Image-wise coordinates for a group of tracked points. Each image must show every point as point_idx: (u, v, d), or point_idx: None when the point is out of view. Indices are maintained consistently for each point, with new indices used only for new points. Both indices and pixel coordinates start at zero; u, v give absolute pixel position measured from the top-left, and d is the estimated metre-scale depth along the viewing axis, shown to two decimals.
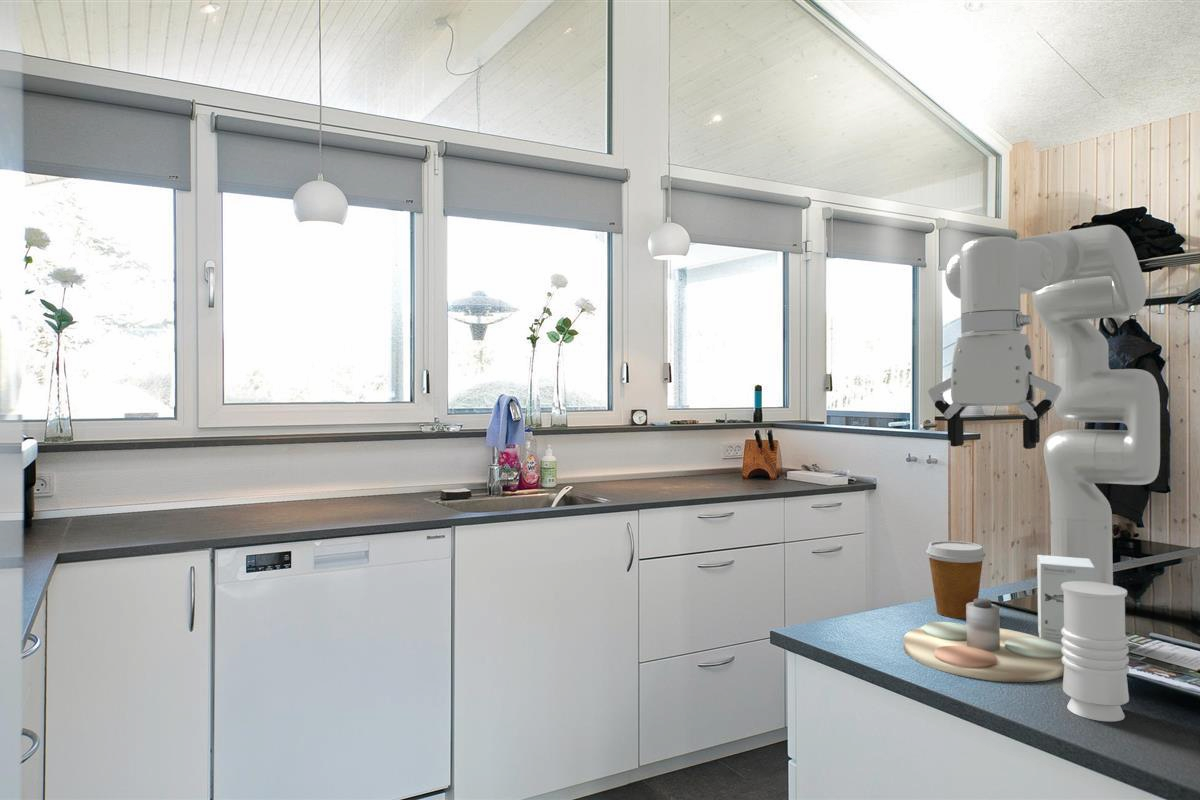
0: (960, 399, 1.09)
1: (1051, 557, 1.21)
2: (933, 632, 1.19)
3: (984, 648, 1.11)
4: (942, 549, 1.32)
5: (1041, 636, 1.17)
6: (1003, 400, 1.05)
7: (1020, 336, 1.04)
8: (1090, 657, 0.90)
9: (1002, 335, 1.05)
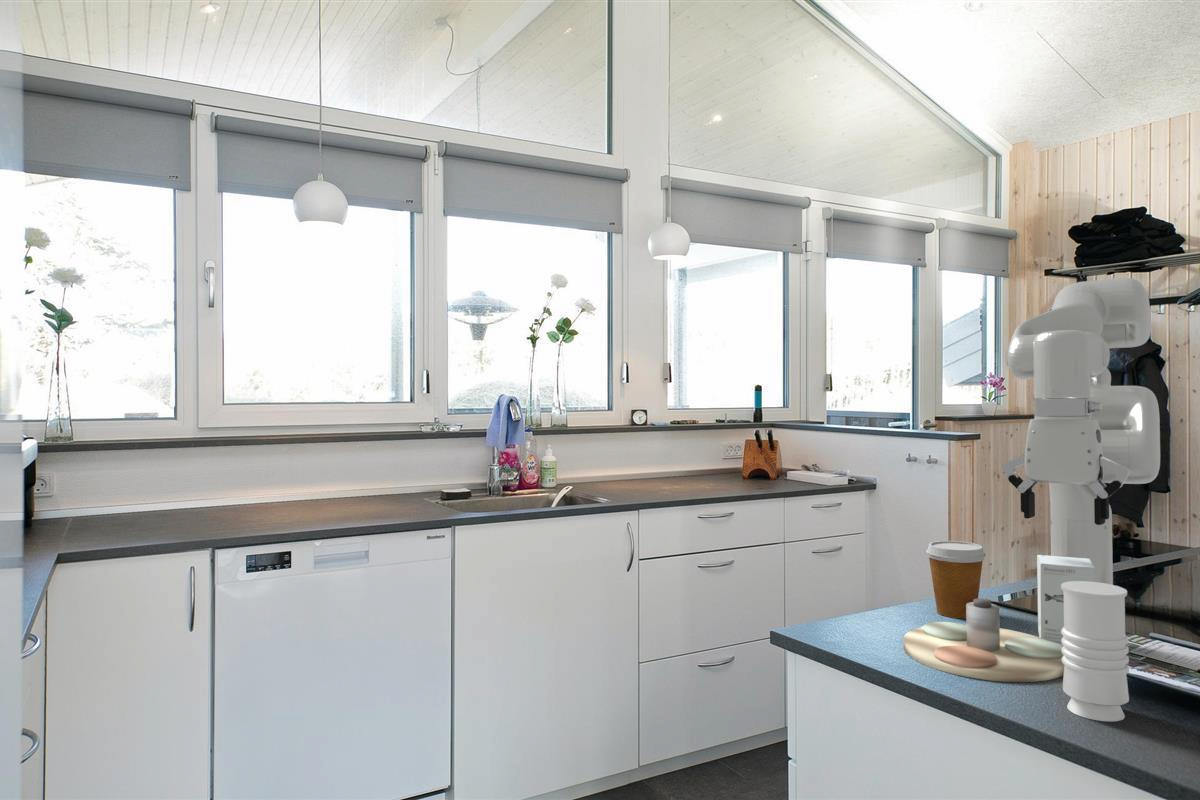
0: (1034, 476, 1.20)
1: (1051, 557, 1.21)
2: (933, 632, 1.19)
3: (984, 648, 1.11)
4: (942, 549, 1.32)
5: (1041, 636, 1.17)
6: (1075, 479, 1.16)
7: (1091, 422, 1.15)
8: (1089, 657, 0.90)
9: (1075, 420, 1.15)
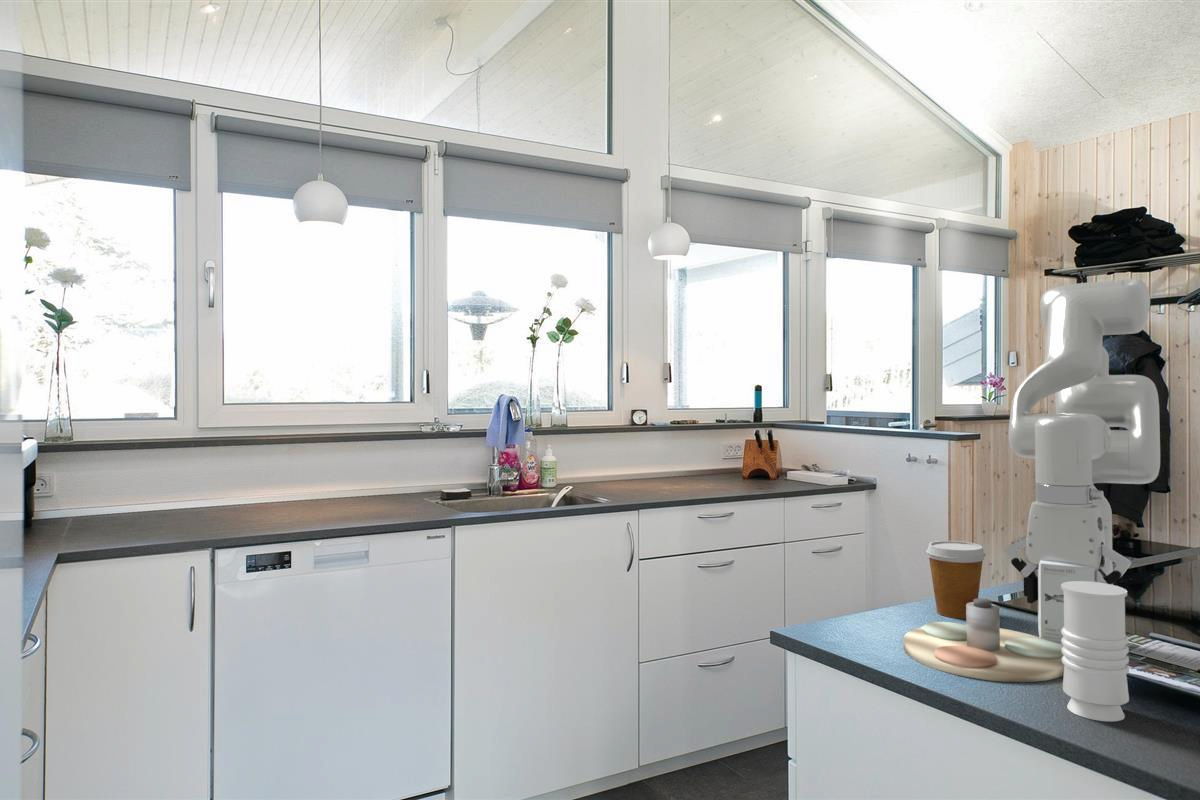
0: (1035, 560, 1.20)
1: None
2: (933, 632, 1.19)
3: (984, 648, 1.11)
4: (942, 549, 1.32)
5: (1041, 636, 1.17)
6: None
7: (1093, 510, 1.15)
8: (1090, 657, 0.90)
9: (1076, 508, 1.15)
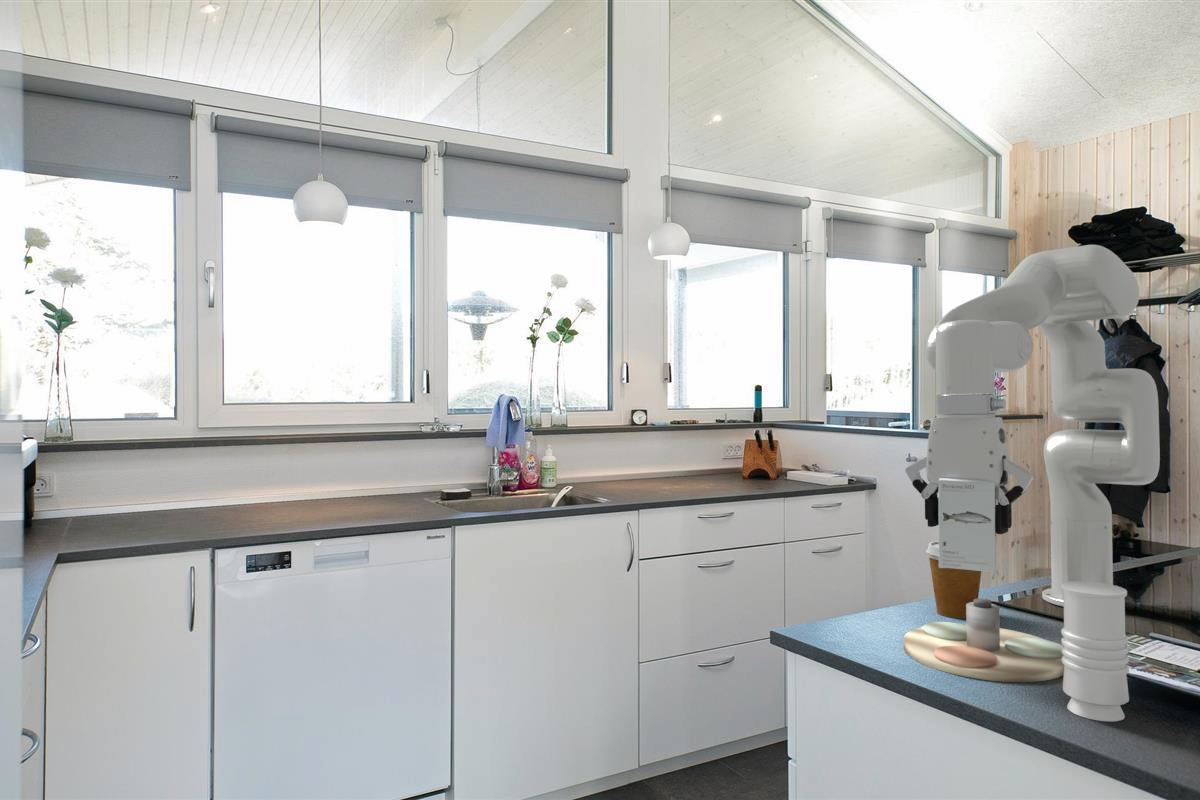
0: (935, 479, 1.10)
1: None
2: (933, 632, 1.19)
3: (984, 648, 1.11)
4: None
5: (939, 559, 1.07)
6: None
7: (994, 420, 1.05)
8: (1089, 657, 0.90)
9: (976, 419, 1.05)
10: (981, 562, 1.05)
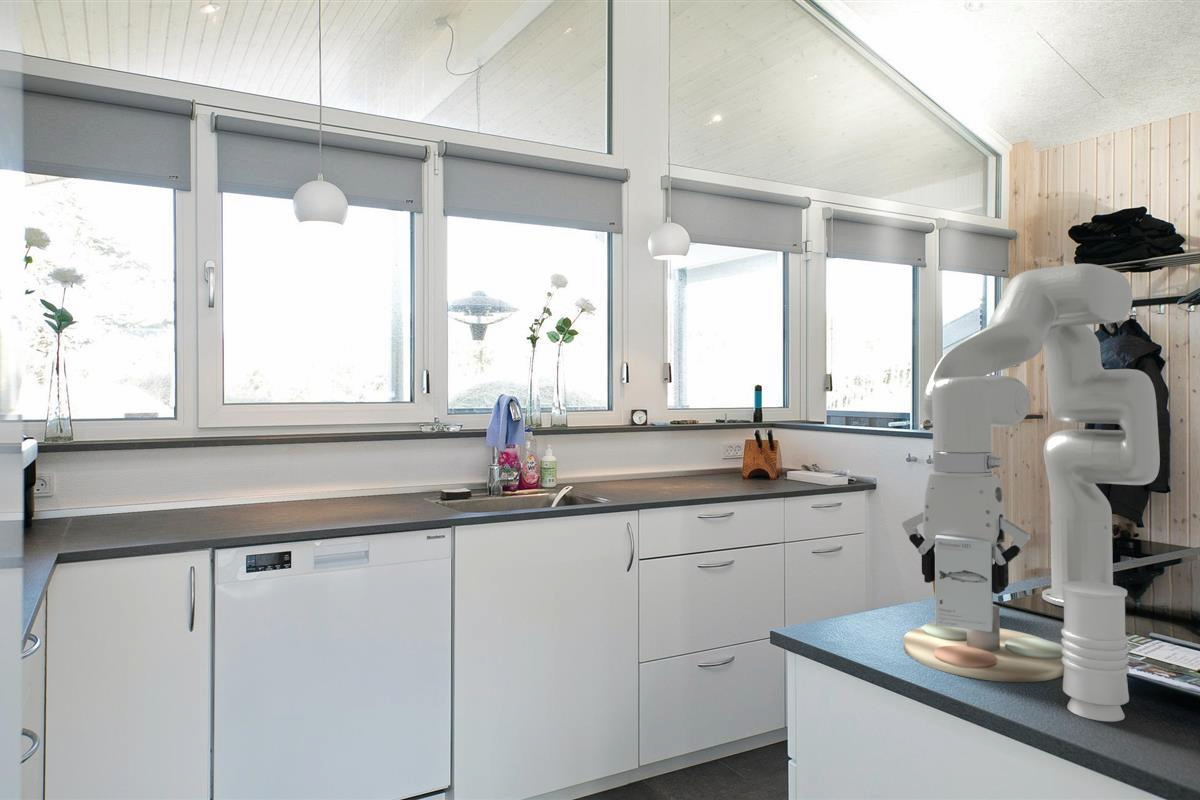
0: (932, 536, 1.09)
1: None
2: (933, 632, 1.19)
3: (984, 648, 1.11)
4: None
5: (936, 617, 1.07)
6: None
7: (991, 479, 1.04)
8: (1090, 657, 0.90)
9: (973, 477, 1.05)
10: (977, 621, 1.05)
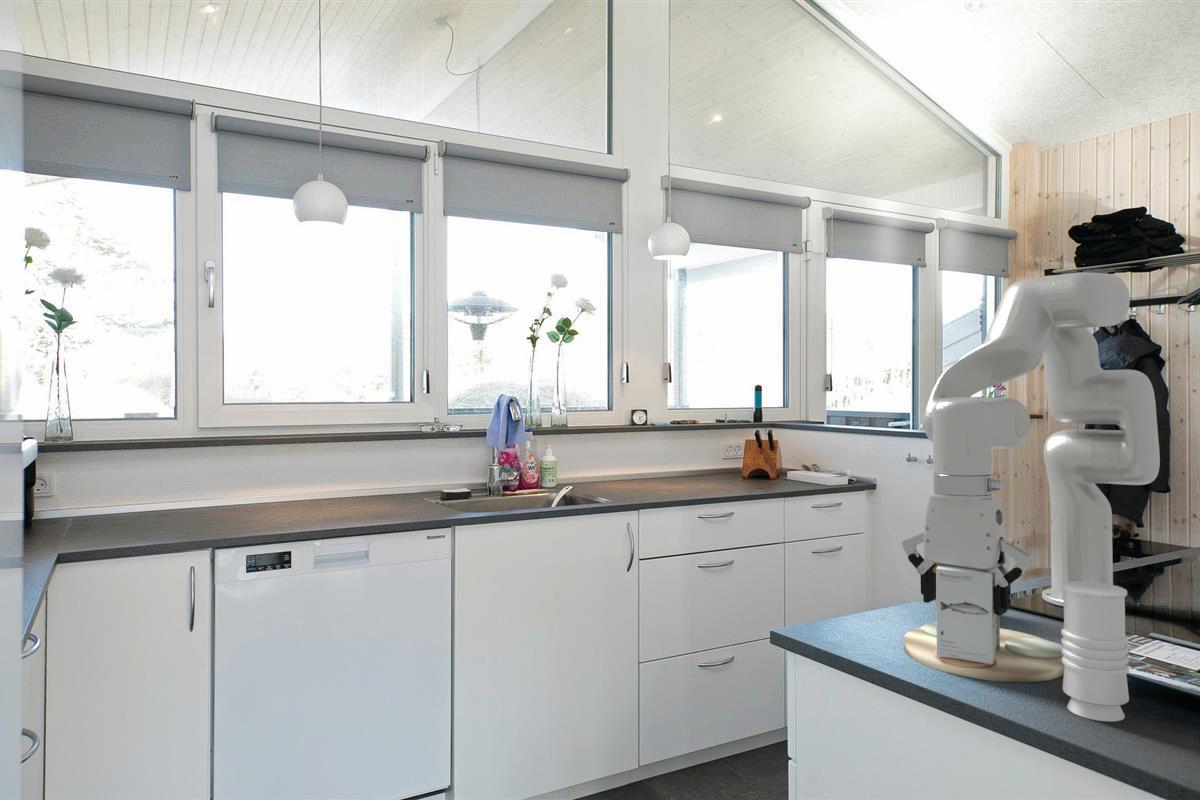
0: (932, 557, 1.09)
1: None
2: (933, 632, 1.19)
3: None
4: None
5: (937, 648, 1.07)
6: (974, 565, 1.05)
7: (991, 502, 1.04)
8: (1090, 657, 0.90)
9: (973, 500, 1.05)
10: (978, 653, 1.05)
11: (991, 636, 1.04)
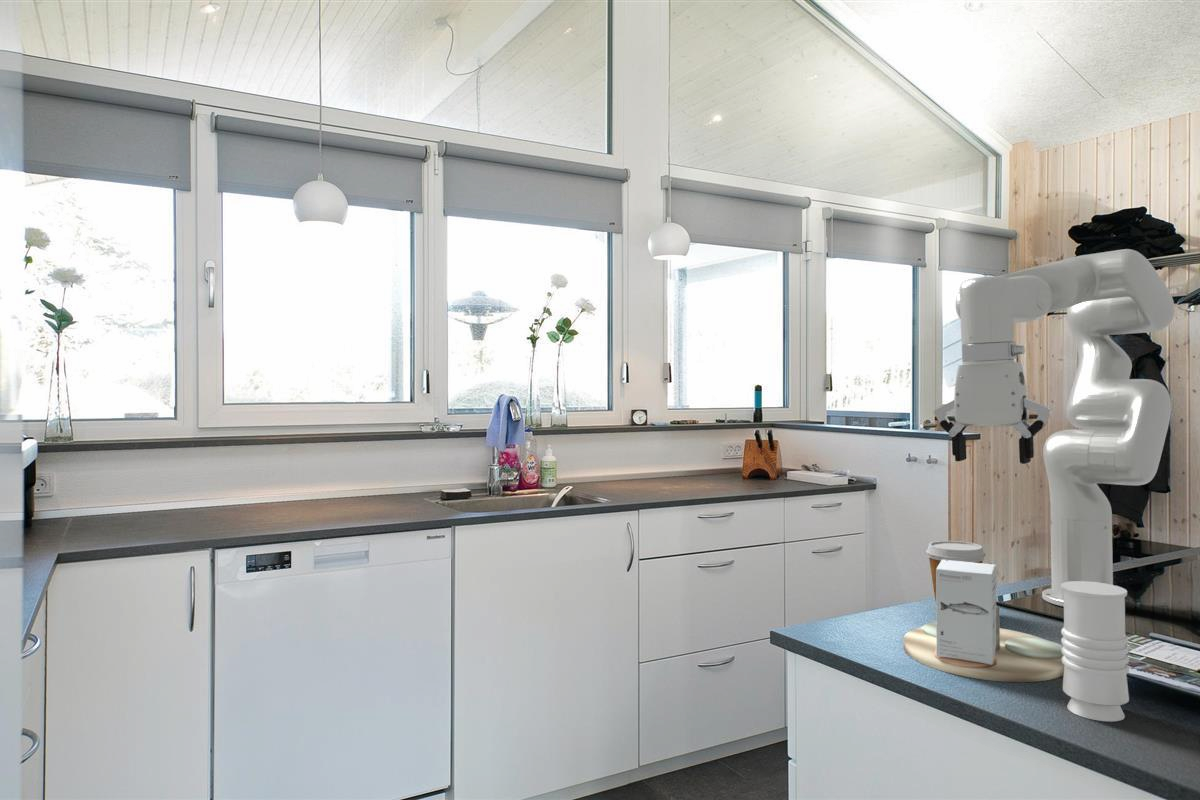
0: (963, 420, 1.23)
1: (953, 562, 1.11)
2: (933, 632, 1.19)
3: None
4: (942, 549, 1.32)
5: (937, 648, 1.07)
6: (1001, 421, 1.19)
7: (1014, 365, 1.18)
8: (1090, 657, 0.90)
9: (999, 364, 1.19)
10: (978, 653, 1.05)
11: (991, 636, 1.04)
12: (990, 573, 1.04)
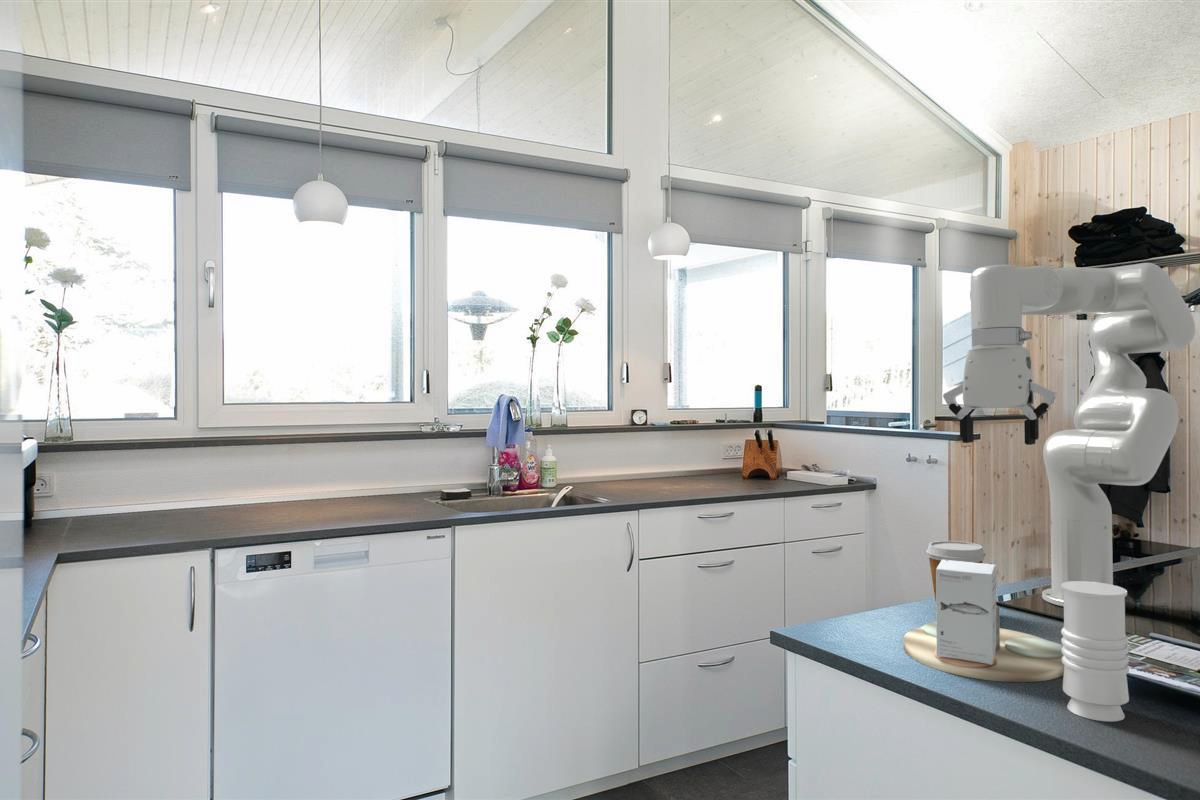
0: (971, 402, 1.28)
1: (953, 562, 1.11)
2: (933, 632, 1.19)
3: None
4: (942, 549, 1.32)
5: (937, 648, 1.07)
6: (1007, 403, 1.24)
7: (1022, 349, 1.23)
8: (1089, 657, 0.90)
9: (1007, 348, 1.24)
10: (978, 653, 1.05)
11: (991, 636, 1.04)
12: (990, 573, 1.04)
